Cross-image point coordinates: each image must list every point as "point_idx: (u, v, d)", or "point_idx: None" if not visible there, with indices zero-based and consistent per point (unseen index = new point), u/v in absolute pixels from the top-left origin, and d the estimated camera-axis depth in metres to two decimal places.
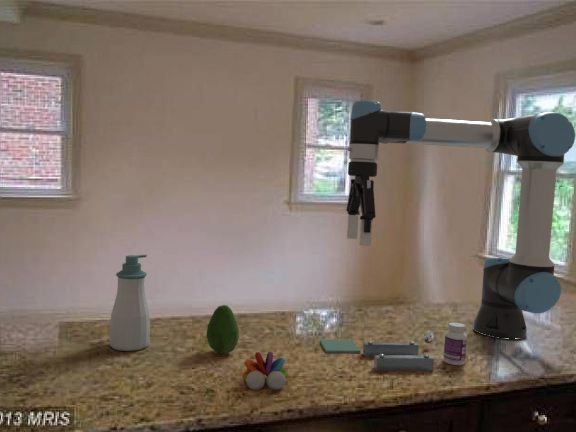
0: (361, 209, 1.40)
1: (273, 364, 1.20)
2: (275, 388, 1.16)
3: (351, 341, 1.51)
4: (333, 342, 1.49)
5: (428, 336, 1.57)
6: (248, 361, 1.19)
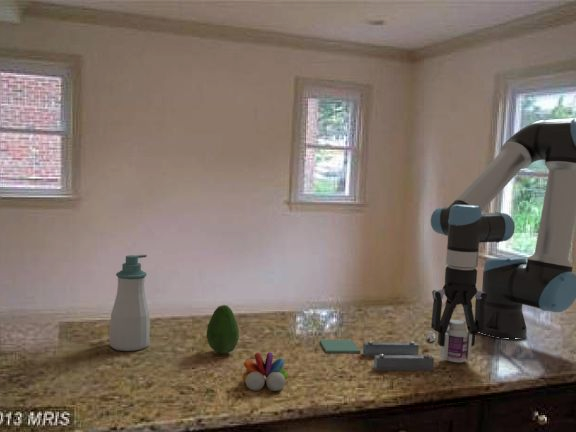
0: None
1: (273, 365, 1.19)
2: (275, 389, 1.15)
3: (351, 341, 1.51)
4: (333, 342, 1.49)
5: (430, 336, 1.57)
6: (248, 362, 1.18)
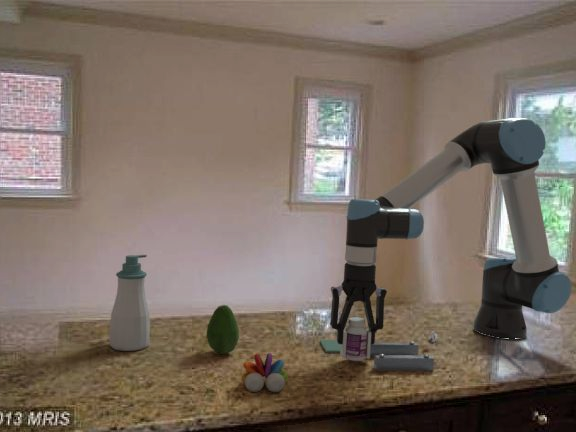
0: None
1: (272, 366, 1.18)
2: (274, 390, 1.14)
3: None
4: (333, 342, 1.49)
5: (432, 337, 1.56)
6: (247, 363, 1.18)
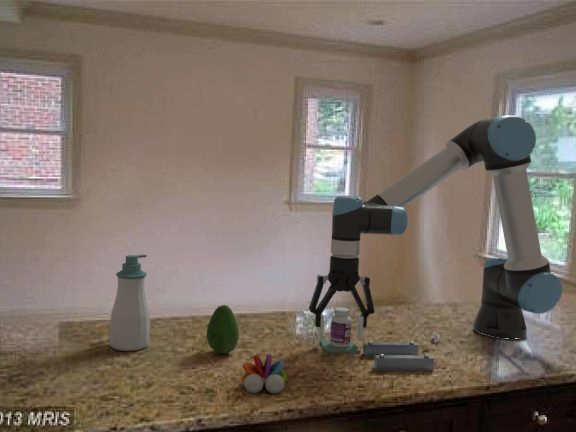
0: None
1: (272, 367, 1.18)
2: (273, 392, 1.14)
3: (351, 341, 1.51)
4: None
5: (434, 337, 1.56)
6: (246, 364, 1.17)
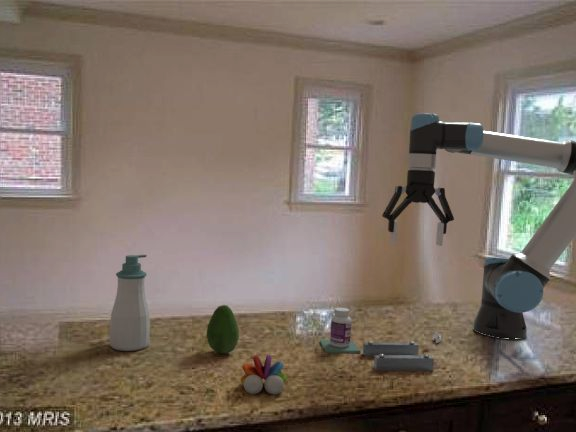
0: None
1: (272, 368, 1.17)
2: (273, 393, 1.13)
3: (351, 341, 1.51)
4: None
5: (436, 337, 1.56)
6: (246, 365, 1.16)
